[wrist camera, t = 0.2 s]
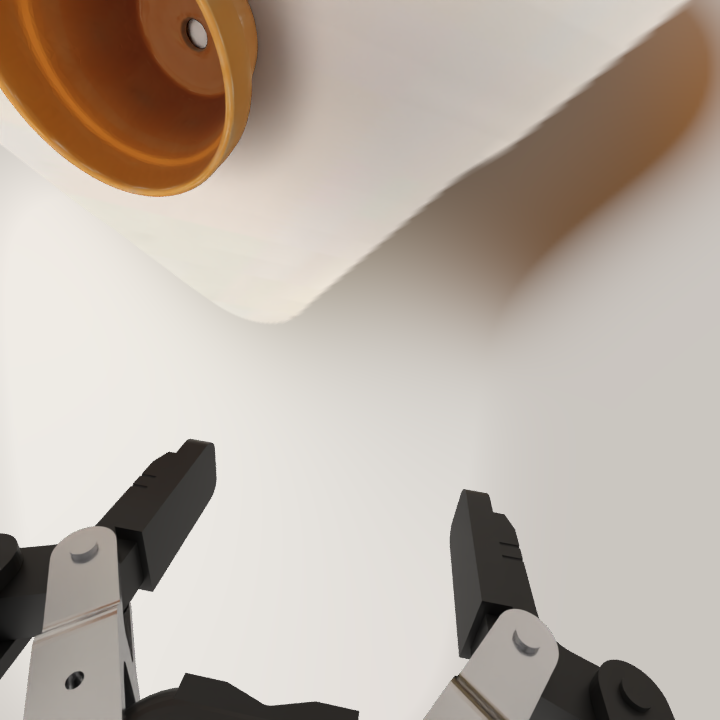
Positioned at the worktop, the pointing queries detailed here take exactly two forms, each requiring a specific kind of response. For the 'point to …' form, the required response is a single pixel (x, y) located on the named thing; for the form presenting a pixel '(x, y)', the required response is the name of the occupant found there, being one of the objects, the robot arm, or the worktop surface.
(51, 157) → the worktop surface
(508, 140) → the worktop surface
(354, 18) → the worktop surface
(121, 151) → the flower pot
